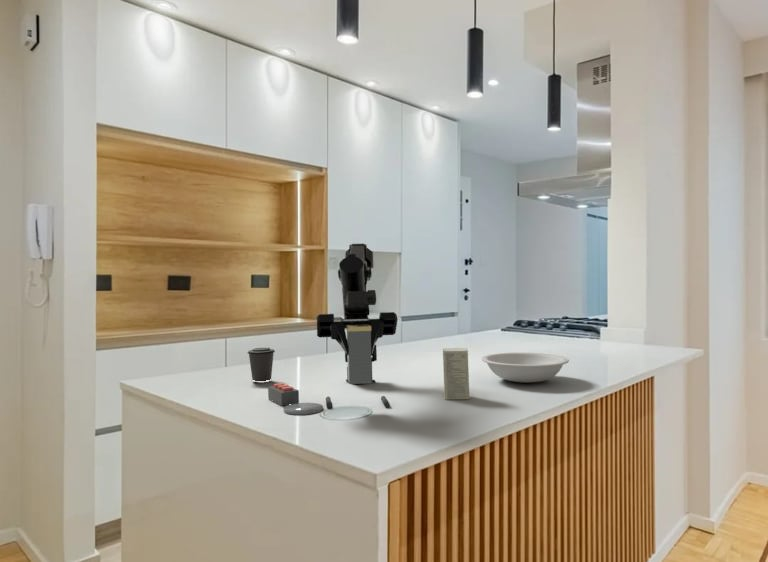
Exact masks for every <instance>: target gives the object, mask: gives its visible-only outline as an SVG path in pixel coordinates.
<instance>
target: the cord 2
mask: <svg viewBox="0 0 768 562" xmlns="http://www.w3.org/2000/svg"><path fill="white" fill-rule="evenodd" d="M380 400H381V402H382V404H383V406H384V407H385V408H390V407H391V404H390V402H389V400H388V398H387V397H386V396H385V395H382V396H381V397H380Z"/></svg>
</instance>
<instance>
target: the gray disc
mask: <svg viewBox="0 0 768 562" xmlns="http://www.w3.org/2000/svg"><path fill="white" fill-rule="evenodd" d="M323 410H324V405H323V404H320V403H316V402H299V403H296V404H291V405H286V406H283V413H284V412H285V413H284V414H287V413H288V414H287V415H291V414H292V415H293V416H306V415H307V416H308V415H313V414H314V415H315V414H317V413H320V412H322V411H323ZM292 415H291V416H292Z"/></svg>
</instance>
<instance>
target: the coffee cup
mask: <svg viewBox="0 0 768 562" xmlns="http://www.w3.org/2000/svg"><path fill="white" fill-rule="evenodd" d="M247 351H248V352H247V354H248V358H249V364H250V365H249V366H250V371H251V372H250V373H251V380H255V381H266V380H270V379H271V380H272V374H273V365H274V364H273V361H274V354H275V352H276V350H274V349H272V348H270V347H256V348H253V349H250V350H247Z"/></svg>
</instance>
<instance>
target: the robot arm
mask: <svg viewBox="0 0 768 562" xmlns="http://www.w3.org/2000/svg"><path fill="white" fill-rule="evenodd" d="M348 247H349V248H348V250H346V251H345V255H344V256H345V257H344V258H342V259H341V260H340V262H339V265H338V266H339V269H338V270H337V274H338V279H339V281H340V283H341V286H342V287H341V292H342V304H343V305H342V306H343V317H341V316H335V314H334V313H319V314H318V315H317V316H316V337H318V338H331V340H336V342H337V343H338V344H339V345H340V347H341V348H342V350H343V351H344V361H345V363H348V359H347V355H348V353H349V351H348V343H347V332H346V330H347V329H346V325H362V324H369V325H370V326H371V369H372V370H373V362H377V361H378V359H377V358H378V357H377V356H378V353H377V352H378V351H377V344H376V343H377V341H378V339H379V338H380V339H382V338H383V336H394V335H395V334H396V331H397V326H398V315H397V313H395V312H394V311H386V312H379V317H378V318H369V316H370V306H375V305H376V303H377V292H376V290H375V289H367V284H368V281H370V280H371V278H372V275H373V274H372V273H373V272H372V269H374V251H372V250H371V249H369V248H368V245H367V244H365V243H350V244H349V246H348ZM346 376H347V379H345V381H346V382H347V383H349V382H348V366H347V367H346ZM372 383H376V379H373V378H372ZM363 384H365V383H363ZM363 384H362V385H363Z"/></svg>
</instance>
